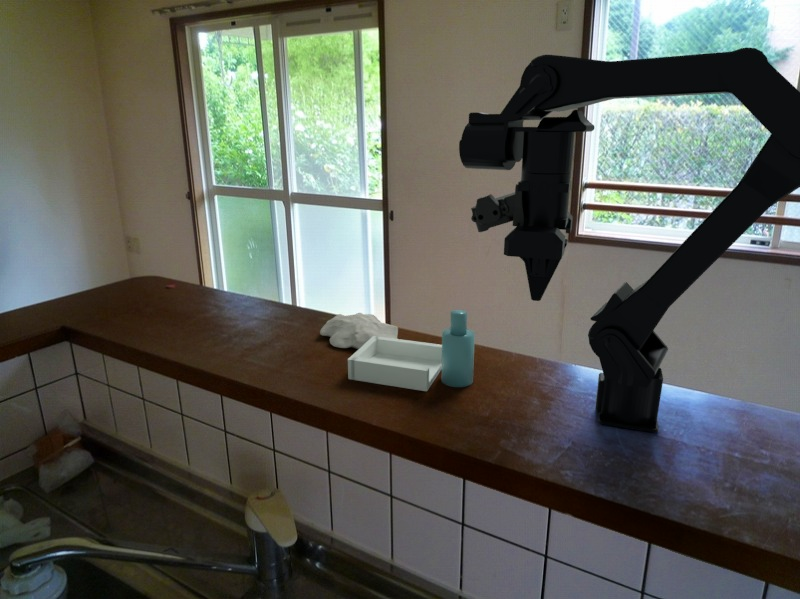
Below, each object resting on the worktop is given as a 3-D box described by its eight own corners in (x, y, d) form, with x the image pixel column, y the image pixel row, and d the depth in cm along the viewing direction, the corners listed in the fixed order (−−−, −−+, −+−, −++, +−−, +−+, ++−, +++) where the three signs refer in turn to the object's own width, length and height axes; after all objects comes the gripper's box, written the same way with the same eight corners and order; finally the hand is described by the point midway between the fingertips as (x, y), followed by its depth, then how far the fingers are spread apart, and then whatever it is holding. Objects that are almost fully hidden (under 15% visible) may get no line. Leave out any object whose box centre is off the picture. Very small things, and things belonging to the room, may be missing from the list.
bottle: (476, 375, 78) (478, 309, 75) (469, 389, 75) (471, 319, 72) (446, 371, 80) (447, 305, 77) (437, 384, 76) (438, 315, 73)
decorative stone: (307, 342, 92) (379, 372, 84) (305, 323, 90) (378, 351, 83) (348, 316, 100) (418, 341, 92) (347, 297, 98) (418, 321, 90)
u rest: (445, 363, 82) (445, 345, 82) (426, 391, 74) (426, 370, 73) (373, 353, 86) (373, 335, 85) (348, 379, 78) (347, 359, 77)
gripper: (492, 165, 76) (487, 274, 81) (460, 177, 60) (456, 314, 64) (577, 167, 73) (566, 281, 77) (568, 180, 56) (555, 325, 61)
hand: (536, 298), depth 70 cm, fingers closed
